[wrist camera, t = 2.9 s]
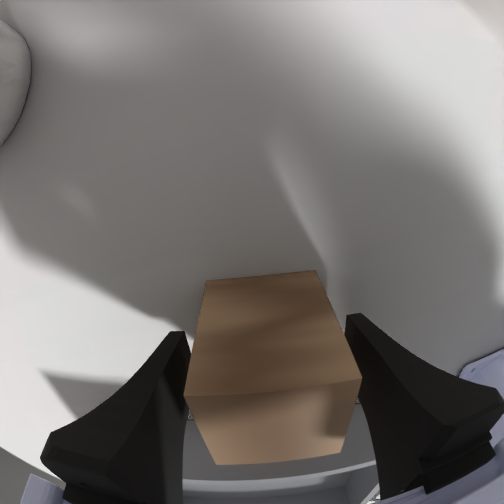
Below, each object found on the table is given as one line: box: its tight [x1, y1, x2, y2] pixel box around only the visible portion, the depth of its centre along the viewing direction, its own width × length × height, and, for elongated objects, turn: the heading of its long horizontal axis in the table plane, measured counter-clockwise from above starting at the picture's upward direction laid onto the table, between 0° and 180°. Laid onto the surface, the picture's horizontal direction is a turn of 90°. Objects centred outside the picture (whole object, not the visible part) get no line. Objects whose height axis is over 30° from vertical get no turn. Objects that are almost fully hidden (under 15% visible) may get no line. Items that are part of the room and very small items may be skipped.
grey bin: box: [182, 403, 380, 504], centre depth 18 cm, size 20×18×4 cm
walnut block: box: [184, 270, 362, 465], centre depth 10 cm, size 4×4×6 cm
